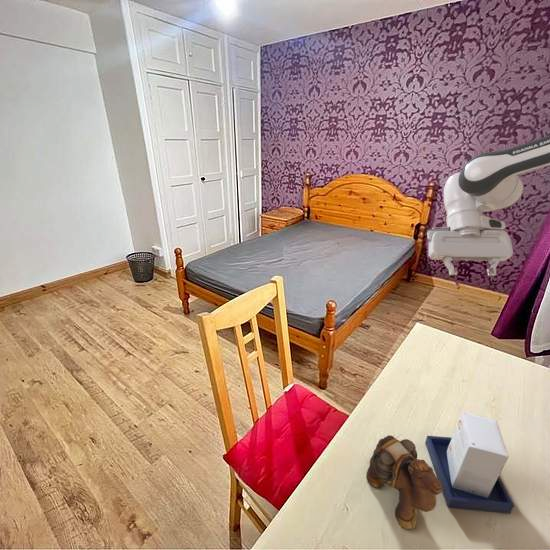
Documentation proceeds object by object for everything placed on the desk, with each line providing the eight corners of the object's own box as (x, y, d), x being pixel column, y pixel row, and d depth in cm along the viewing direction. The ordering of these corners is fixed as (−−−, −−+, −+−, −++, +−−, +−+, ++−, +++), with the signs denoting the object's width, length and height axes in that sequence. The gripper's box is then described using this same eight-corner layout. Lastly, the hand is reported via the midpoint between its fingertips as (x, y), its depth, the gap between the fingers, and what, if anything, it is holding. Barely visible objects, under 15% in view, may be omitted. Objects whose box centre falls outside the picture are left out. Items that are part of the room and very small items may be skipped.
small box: (488, 499, 59) (509, 457, 53) (451, 488, 61) (468, 446, 55) (478, 460, 66) (497, 419, 60) (445, 451, 68) (460, 410, 62)
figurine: (407, 549, 53) (424, 501, 46) (351, 469, 65) (358, 422, 59) (444, 521, 57) (465, 472, 50) (385, 450, 69) (395, 404, 62)
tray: (476, 447, 69) (479, 439, 68) (510, 513, 57) (514, 506, 56) (424, 442, 70) (427, 435, 69) (447, 507, 59) (450, 500, 57)
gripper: (430, 221, 83) (436, 270, 79) (511, 222, 81) (521, 272, 76) (422, 232, 89) (426, 277, 85) (497, 232, 87) (506, 279, 82)
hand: (472, 274), depth 80 cm, fingers open, 8 cm apart
